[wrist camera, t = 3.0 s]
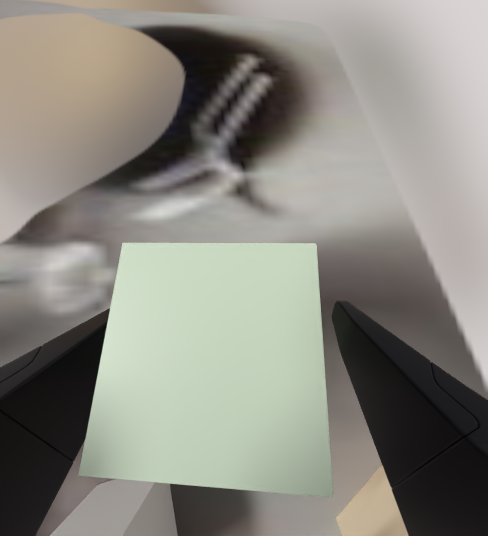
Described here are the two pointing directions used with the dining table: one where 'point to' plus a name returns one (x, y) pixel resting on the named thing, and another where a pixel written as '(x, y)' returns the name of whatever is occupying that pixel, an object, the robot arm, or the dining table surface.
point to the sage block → (213, 370)
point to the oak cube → (372, 510)
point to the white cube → (123, 511)
